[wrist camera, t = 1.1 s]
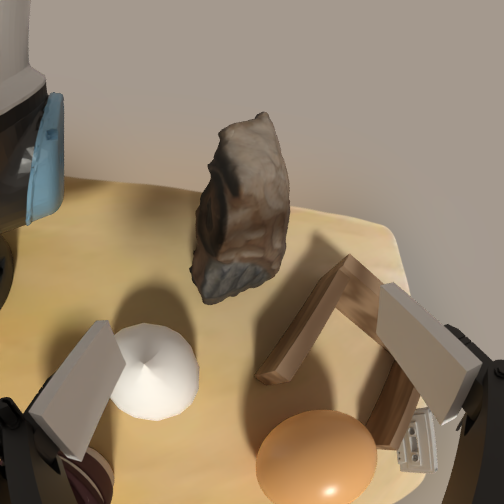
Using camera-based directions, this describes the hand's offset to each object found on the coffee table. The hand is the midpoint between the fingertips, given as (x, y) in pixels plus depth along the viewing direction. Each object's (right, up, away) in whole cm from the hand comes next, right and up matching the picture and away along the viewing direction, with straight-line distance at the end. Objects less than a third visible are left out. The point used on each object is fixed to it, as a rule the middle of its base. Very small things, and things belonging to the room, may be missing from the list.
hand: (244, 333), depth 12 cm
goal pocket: (+14, -13, +24) cm, 30 cm away
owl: (-3, +2, +26) cm, 27 cm away
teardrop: (-11, -11, +16) cm, 23 cm away
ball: (+7, -19, +10) cm, 22 cm away
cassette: (+24, -27, +19) cm, 41 cm away
